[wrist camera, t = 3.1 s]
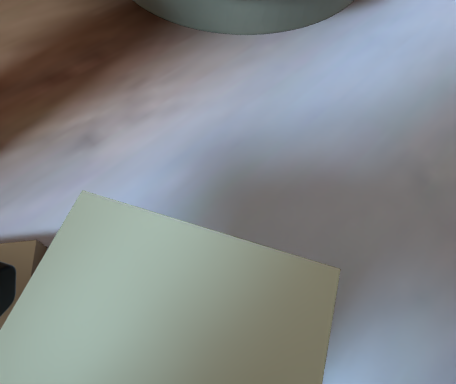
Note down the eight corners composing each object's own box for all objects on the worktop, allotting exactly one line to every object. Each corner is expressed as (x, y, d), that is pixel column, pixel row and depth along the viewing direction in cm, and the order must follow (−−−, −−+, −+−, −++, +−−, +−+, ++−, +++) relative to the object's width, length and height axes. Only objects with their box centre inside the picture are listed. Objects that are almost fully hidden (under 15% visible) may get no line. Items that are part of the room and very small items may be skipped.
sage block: (230, 475, 12) (256, 790, 3) (114, 429, 12) (-148, 582, 4) (266, 330, 14) (340, 269, 5) (166, 297, 15) (82, 190, 6)
